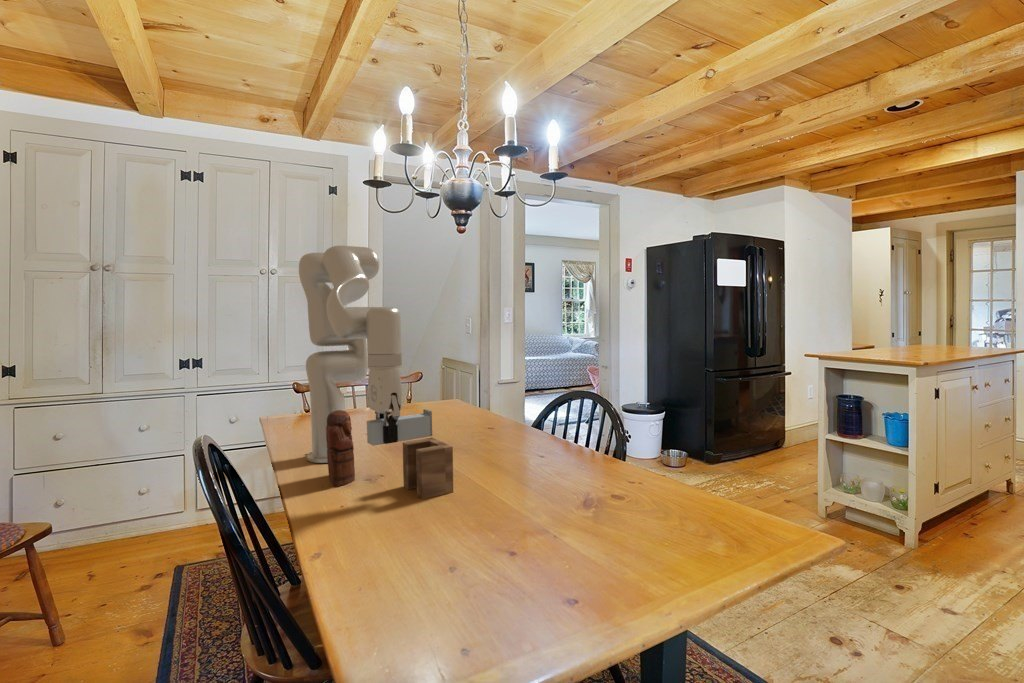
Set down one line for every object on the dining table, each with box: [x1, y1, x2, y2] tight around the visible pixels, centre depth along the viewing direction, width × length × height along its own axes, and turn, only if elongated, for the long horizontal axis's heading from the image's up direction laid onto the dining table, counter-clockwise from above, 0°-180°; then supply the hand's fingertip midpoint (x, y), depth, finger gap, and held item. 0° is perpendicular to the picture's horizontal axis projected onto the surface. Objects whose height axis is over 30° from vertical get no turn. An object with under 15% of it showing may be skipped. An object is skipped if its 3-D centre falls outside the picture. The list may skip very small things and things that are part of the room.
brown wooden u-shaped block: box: [402, 437, 454, 500], centre depth 125 cm, size 11×8×11 cm
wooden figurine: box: [326, 410, 356, 487], centre depth 132 cm, size 12×6×18 cm, turn 25°
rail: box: [366, 408, 433, 447], centre depth 120 cm, size 4×15×6 cm, turn 125°
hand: (387, 440), depth 118 cm, fingers closed on rail, 3 cm apart
